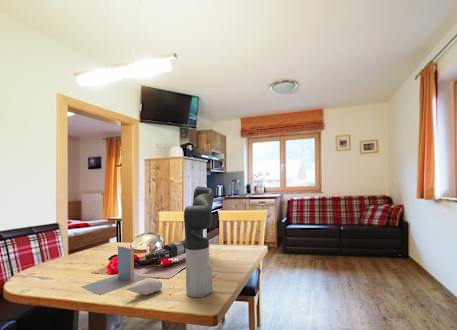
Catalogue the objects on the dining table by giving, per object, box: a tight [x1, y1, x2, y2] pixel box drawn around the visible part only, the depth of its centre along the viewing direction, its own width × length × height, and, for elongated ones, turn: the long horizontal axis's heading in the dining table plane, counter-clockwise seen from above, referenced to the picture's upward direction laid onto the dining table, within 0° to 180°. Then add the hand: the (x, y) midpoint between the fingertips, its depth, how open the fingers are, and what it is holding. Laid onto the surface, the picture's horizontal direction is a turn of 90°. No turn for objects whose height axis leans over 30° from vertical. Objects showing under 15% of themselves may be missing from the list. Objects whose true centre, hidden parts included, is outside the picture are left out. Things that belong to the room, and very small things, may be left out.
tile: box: [117, 244, 135, 281], centre depth 120 cm, size 10×2×14 cm, turn 53°
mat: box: [80, 273, 148, 296], centre depth 116 cm, size 16×22×1 cm
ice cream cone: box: [124, 277, 163, 296], centre depth 102 cm, size 6×6×15 cm
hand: (146, 257), depth 129 cm, fingers closed
